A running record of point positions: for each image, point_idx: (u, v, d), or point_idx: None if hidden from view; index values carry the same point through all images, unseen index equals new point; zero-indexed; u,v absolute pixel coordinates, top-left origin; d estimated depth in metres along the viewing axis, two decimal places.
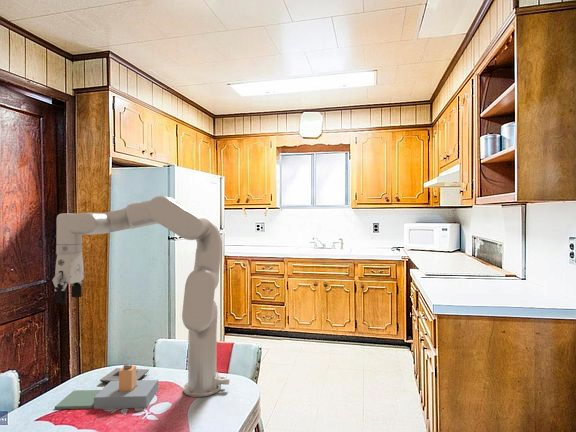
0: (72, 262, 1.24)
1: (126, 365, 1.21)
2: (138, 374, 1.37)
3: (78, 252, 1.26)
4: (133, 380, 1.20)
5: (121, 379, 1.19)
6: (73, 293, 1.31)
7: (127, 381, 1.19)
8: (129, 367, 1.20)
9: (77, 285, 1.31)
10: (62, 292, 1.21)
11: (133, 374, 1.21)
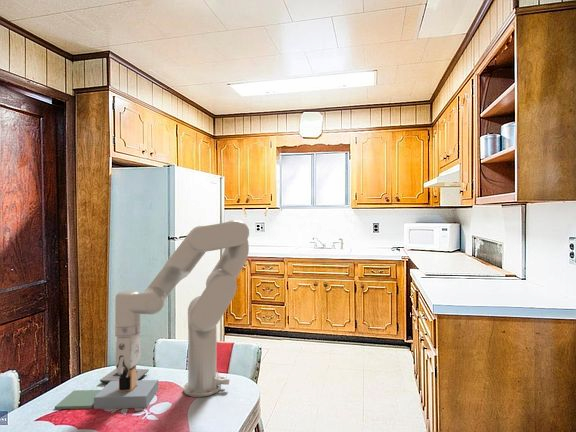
0: (132, 345, 1.18)
1: None
2: (138, 374, 1.37)
3: (137, 333, 1.20)
4: (133, 380, 1.20)
5: None
6: None
7: None
8: None
9: None
10: (126, 379, 1.18)
11: (133, 374, 1.21)
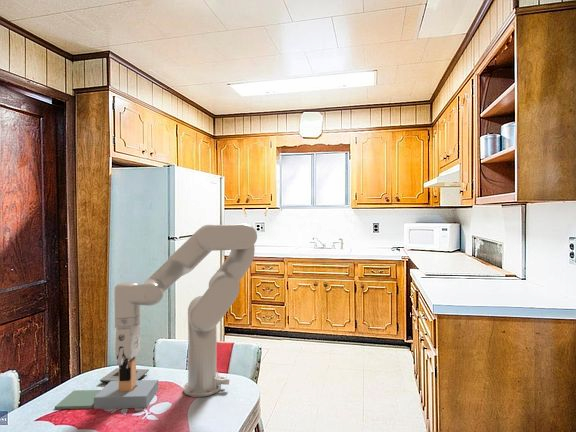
0: (131, 336, 1.18)
1: None
2: (138, 374, 1.37)
3: (137, 324, 1.20)
4: (132, 371, 1.20)
5: None
6: None
7: None
8: None
9: None
10: (126, 370, 1.18)
11: (133, 365, 1.21)
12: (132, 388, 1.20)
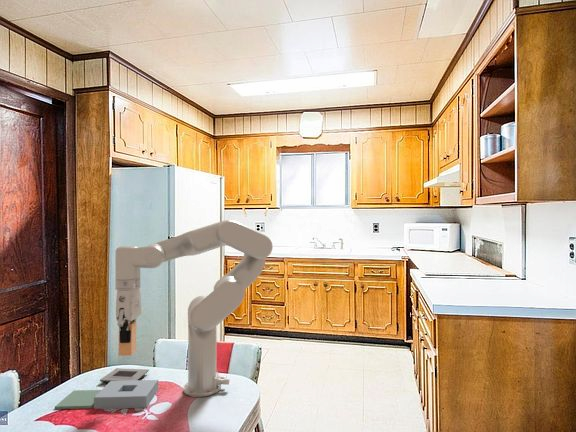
0: (132, 298, 1.18)
1: (126, 319, 1.21)
2: (138, 374, 1.37)
3: (138, 287, 1.21)
4: (133, 334, 1.21)
5: None
6: None
7: None
8: None
9: None
10: (127, 332, 1.18)
11: (133, 328, 1.21)
12: (132, 351, 1.20)
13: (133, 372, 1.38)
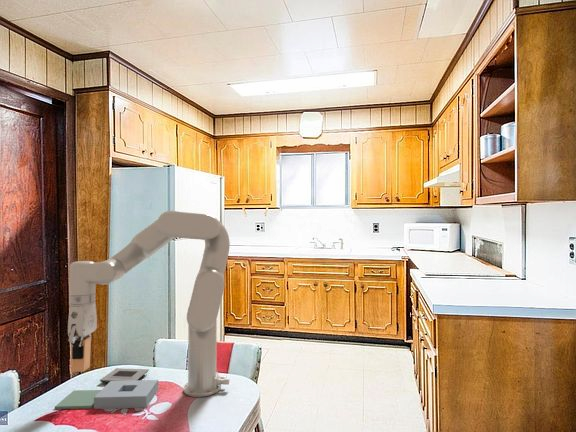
0: (85, 314, 1.18)
1: None
2: (138, 374, 1.37)
3: (92, 302, 1.20)
4: (86, 350, 1.20)
5: None
6: None
7: None
8: (83, 337, 1.20)
9: None
10: (79, 348, 1.18)
11: (87, 344, 1.20)
12: (85, 366, 1.20)
13: (133, 372, 1.38)
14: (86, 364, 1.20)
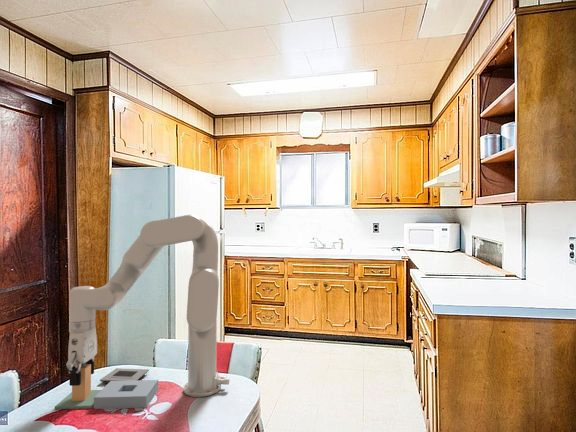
0: (85, 340, 1.17)
1: None
2: (138, 374, 1.37)
3: (92, 328, 1.20)
4: (86, 378, 1.20)
5: None
6: None
7: None
8: (83, 365, 1.20)
9: (89, 361, 1.24)
10: (76, 374, 1.16)
11: (87, 372, 1.20)
12: (86, 395, 1.19)
13: (133, 372, 1.38)
14: (87, 393, 1.20)
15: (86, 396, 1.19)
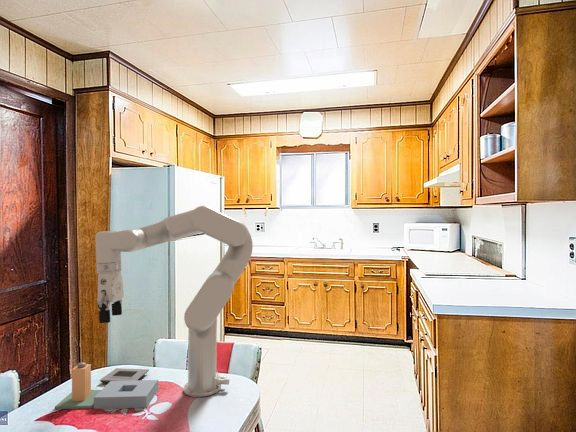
0: (113, 281, 1.22)
1: (80, 363, 1.20)
2: (138, 374, 1.37)
3: (118, 270, 1.24)
4: (86, 378, 1.20)
5: (74, 377, 1.18)
6: (113, 311, 1.29)
7: (80, 380, 1.18)
8: (83, 365, 1.20)
9: (117, 303, 1.30)
10: (106, 311, 1.20)
11: (87, 372, 1.20)
12: (86, 395, 1.19)
13: (133, 372, 1.38)
14: (87, 393, 1.20)
15: (86, 396, 1.19)
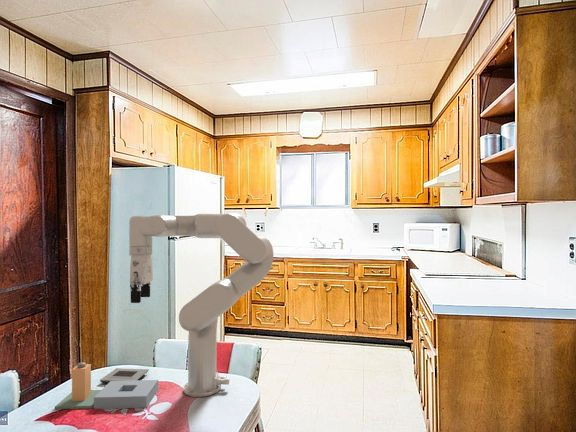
0: (145, 263, 1.28)
1: (80, 363, 1.20)
2: (138, 374, 1.37)
3: (150, 253, 1.30)
4: (86, 378, 1.20)
5: (74, 377, 1.18)
6: (142, 293, 1.35)
7: (80, 380, 1.18)
8: (83, 365, 1.20)
9: (146, 285, 1.35)
10: (137, 292, 1.25)
11: (87, 372, 1.20)
12: (86, 395, 1.19)
13: (133, 372, 1.38)
14: (87, 393, 1.20)
15: (86, 396, 1.19)
